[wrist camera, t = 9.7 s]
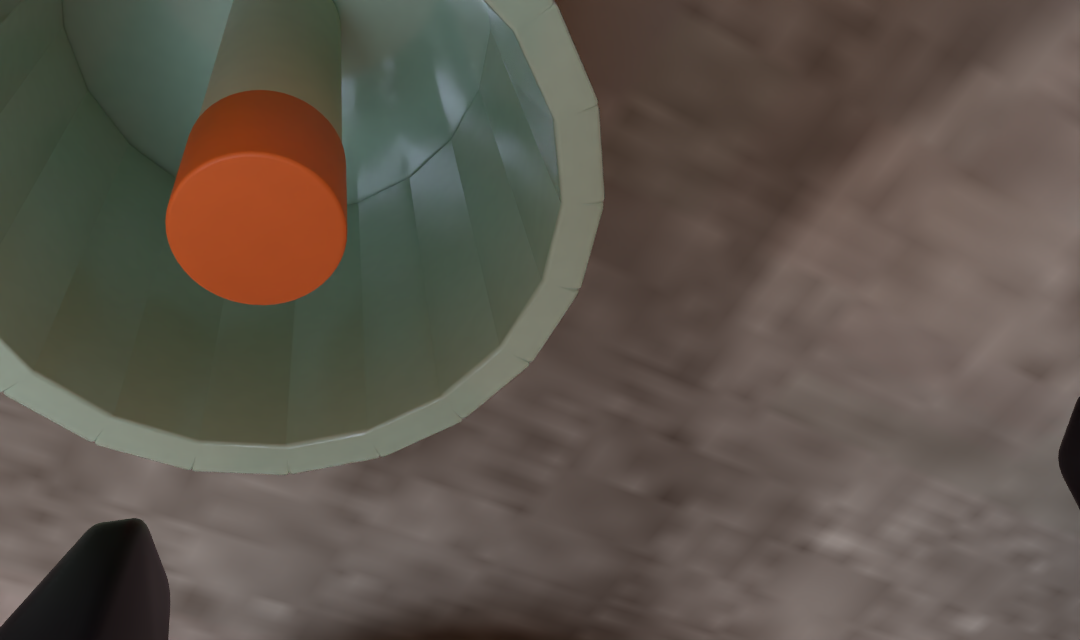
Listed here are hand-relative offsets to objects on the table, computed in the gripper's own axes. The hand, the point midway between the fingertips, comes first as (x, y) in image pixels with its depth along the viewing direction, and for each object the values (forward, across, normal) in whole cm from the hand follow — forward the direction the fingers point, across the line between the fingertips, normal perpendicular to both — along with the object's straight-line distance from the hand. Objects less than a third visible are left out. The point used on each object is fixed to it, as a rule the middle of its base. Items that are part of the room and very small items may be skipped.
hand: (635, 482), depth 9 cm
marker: (+12, +4, -1) cm, 13 cm away
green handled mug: (+13, +5, -2) cm, 14 cm away
